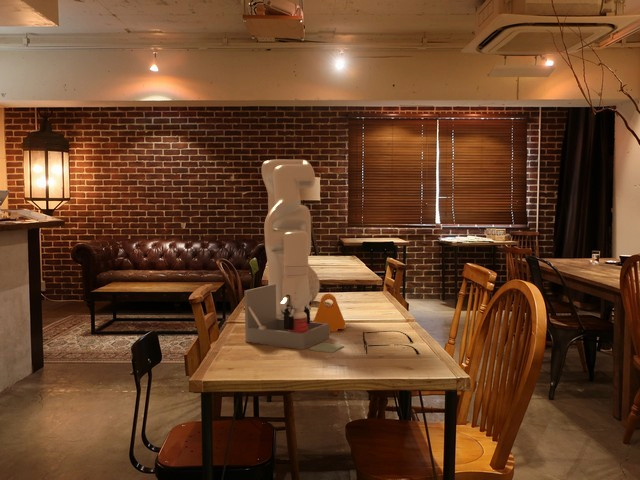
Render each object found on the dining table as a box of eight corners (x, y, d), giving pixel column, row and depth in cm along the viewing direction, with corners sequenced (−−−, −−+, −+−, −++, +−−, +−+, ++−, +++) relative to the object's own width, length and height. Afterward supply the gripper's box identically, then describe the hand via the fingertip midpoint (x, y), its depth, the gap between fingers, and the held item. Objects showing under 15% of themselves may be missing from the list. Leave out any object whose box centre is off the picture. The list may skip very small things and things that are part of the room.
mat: (309, 349, 156) (309, 348, 156) (321, 344, 163) (321, 342, 163) (332, 352, 153) (332, 351, 153) (344, 346, 159) (344, 345, 159)
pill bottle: (311, 341, 166) (310, 306, 166) (294, 344, 163) (293, 308, 162) (300, 337, 171) (300, 303, 171) (284, 340, 168) (283, 305, 167)
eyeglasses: (361, 342, 165) (361, 329, 165) (413, 342, 165) (412, 329, 165) (364, 357, 149) (363, 343, 149) (421, 357, 148) (421, 343, 148)
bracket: (344, 326, 187) (343, 292, 186) (345, 331, 180) (344, 295, 179) (313, 327, 187) (312, 292, 186) (313, 331, 180) (312, 296, 179)
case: (245, 342, 167) (244, 290, 166) (274, 331, 181) (273, 284, 180) (303, 349, 157) (302, 295, 156) (329, 337, 171) (328, 287, 170)
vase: (302, 298, 245) (301, 262, 244) (325, 301, 238) (324, 263, 237) (284, 303, 235) (283, 265, 234) (308, 305, 228) (307, 266, 227)
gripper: (300, 268, 175) (301, 320, 176) (270, 273, 160) (271, 330, 161) (320, 268, 172) (321, 322, 173) (291, 274, 157) (293, 333, 157)
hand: (297, 326), depth 167 cm, fingers open, 9 cm apart
